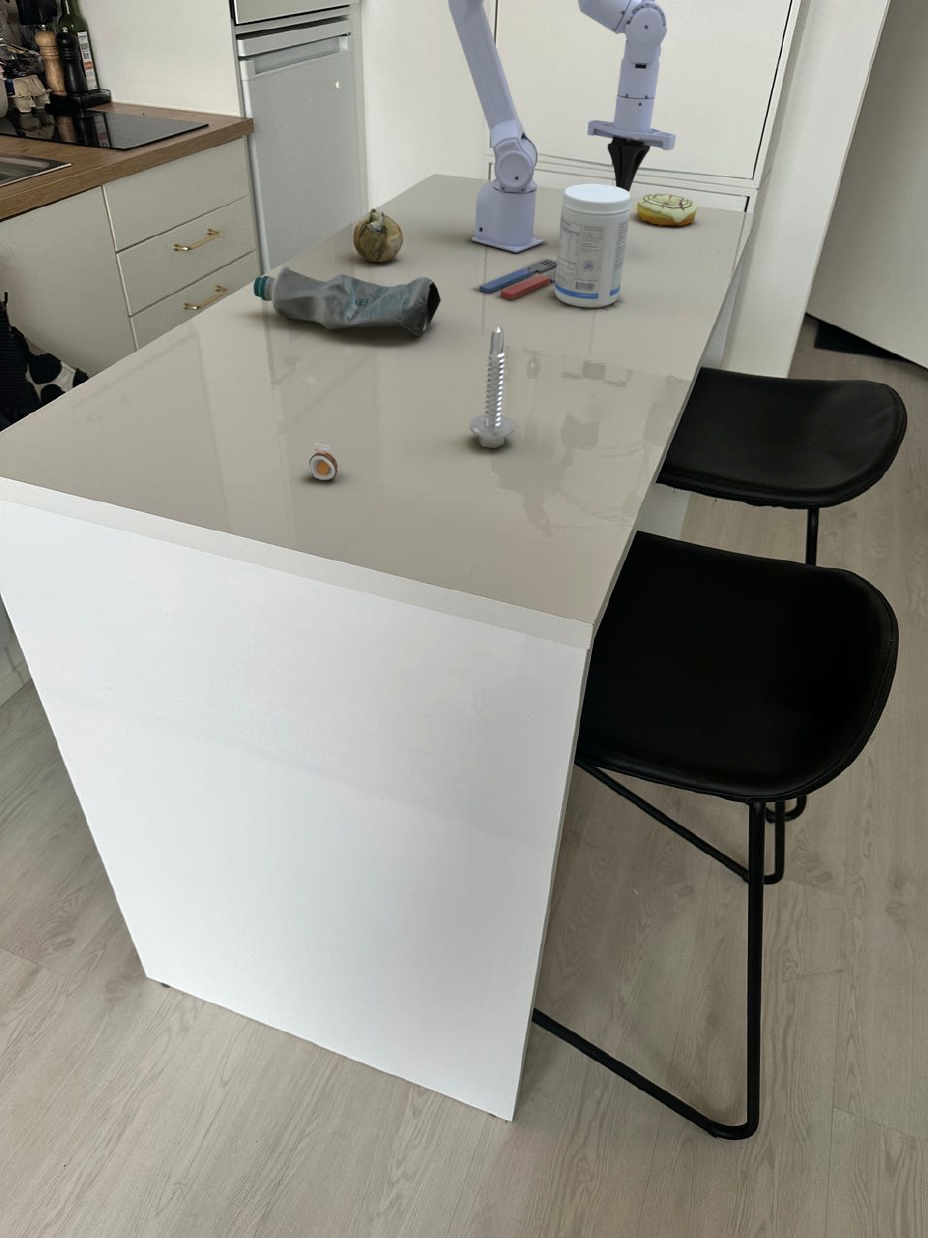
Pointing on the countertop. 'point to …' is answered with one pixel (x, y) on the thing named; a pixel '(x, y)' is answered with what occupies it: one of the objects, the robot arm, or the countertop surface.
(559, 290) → the supplement tub
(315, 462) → the chocolate
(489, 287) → the fork
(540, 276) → the knife
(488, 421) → the screw
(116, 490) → the countertop surface
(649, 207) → the decorated donut
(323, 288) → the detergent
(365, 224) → the onion
